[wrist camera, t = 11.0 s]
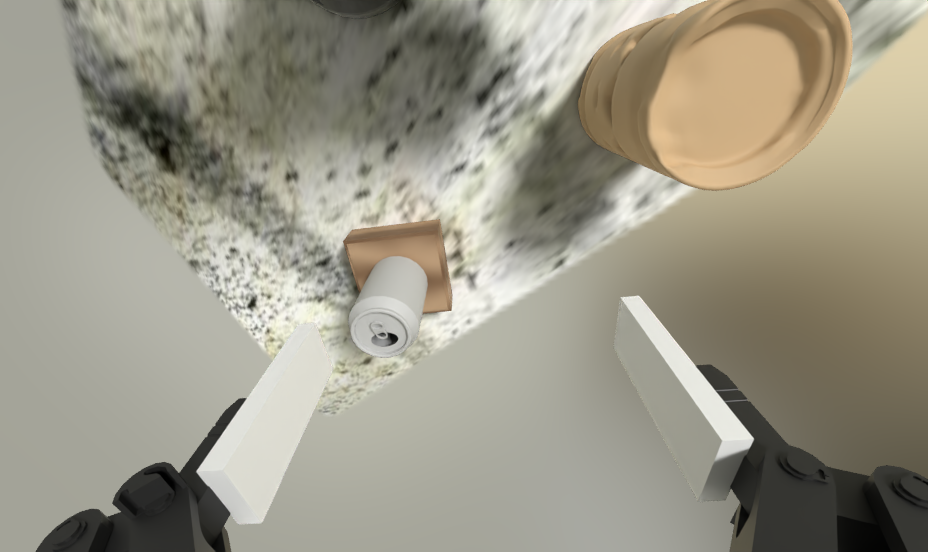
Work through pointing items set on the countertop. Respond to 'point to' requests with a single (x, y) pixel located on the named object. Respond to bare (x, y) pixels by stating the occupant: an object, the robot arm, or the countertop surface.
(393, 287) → the can
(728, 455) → the robot arm
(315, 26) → the countertop surface
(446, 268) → the tan cardboard box
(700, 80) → the container
